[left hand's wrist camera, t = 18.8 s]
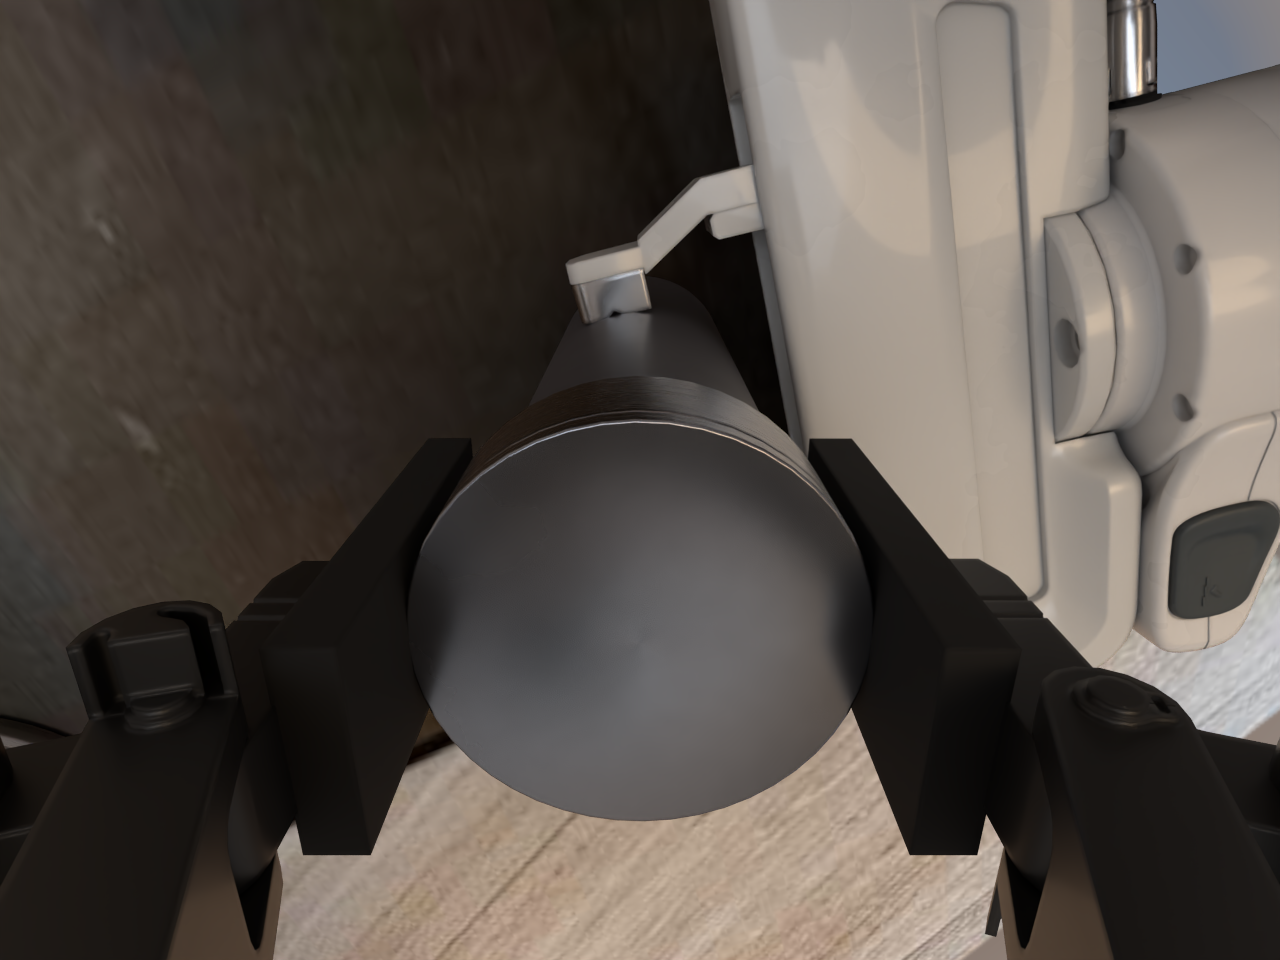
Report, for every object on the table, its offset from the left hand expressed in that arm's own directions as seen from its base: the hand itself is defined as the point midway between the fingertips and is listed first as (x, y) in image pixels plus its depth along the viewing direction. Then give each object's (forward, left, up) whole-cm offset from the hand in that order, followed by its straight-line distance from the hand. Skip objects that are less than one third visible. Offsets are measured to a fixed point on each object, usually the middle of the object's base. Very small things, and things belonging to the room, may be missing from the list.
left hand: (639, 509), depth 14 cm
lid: (0, 0, +4) cm, 4 cm away
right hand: (0, +1, -6) cm, 6 cm away
